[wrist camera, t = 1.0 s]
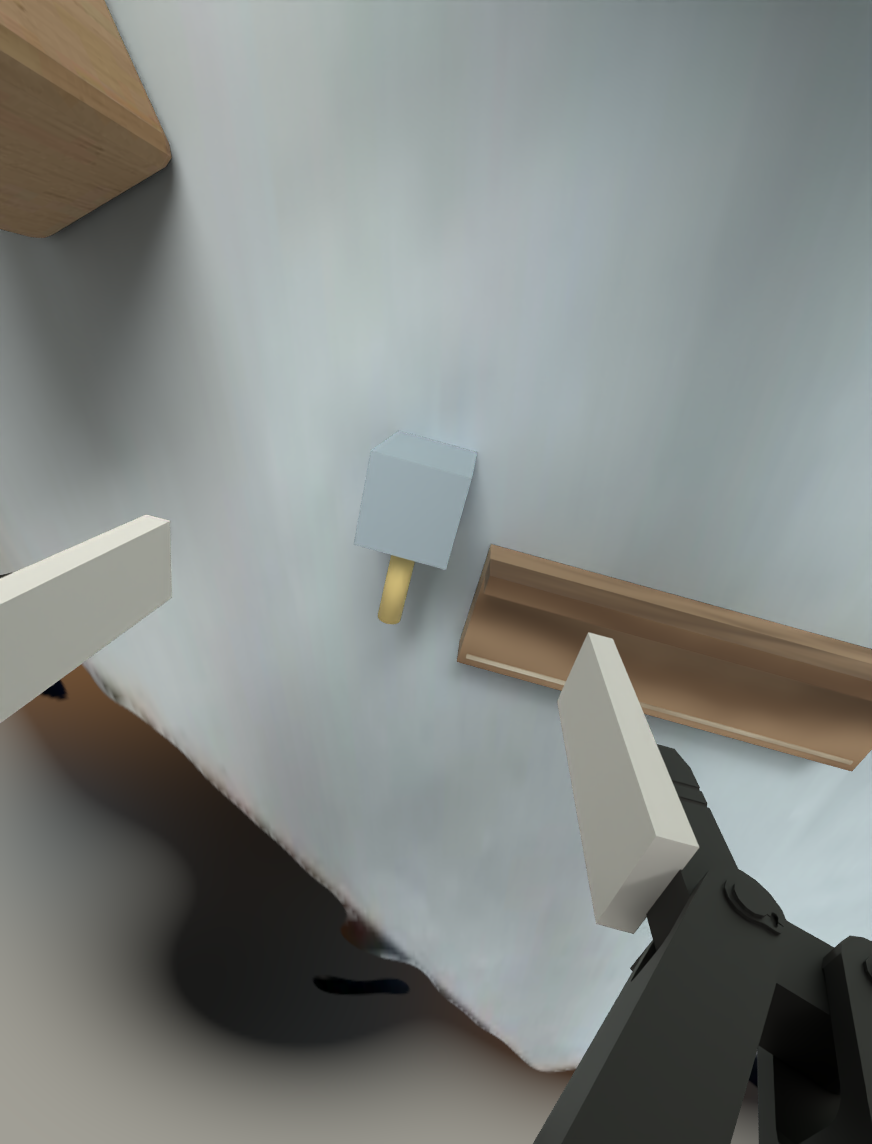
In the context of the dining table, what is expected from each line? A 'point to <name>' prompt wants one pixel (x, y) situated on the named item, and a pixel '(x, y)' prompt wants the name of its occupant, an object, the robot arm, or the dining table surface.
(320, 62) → the dining table surface
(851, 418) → the dining table surface
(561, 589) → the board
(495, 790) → the dining table surface
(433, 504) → the grey cube mallet
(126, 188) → the wooden block
